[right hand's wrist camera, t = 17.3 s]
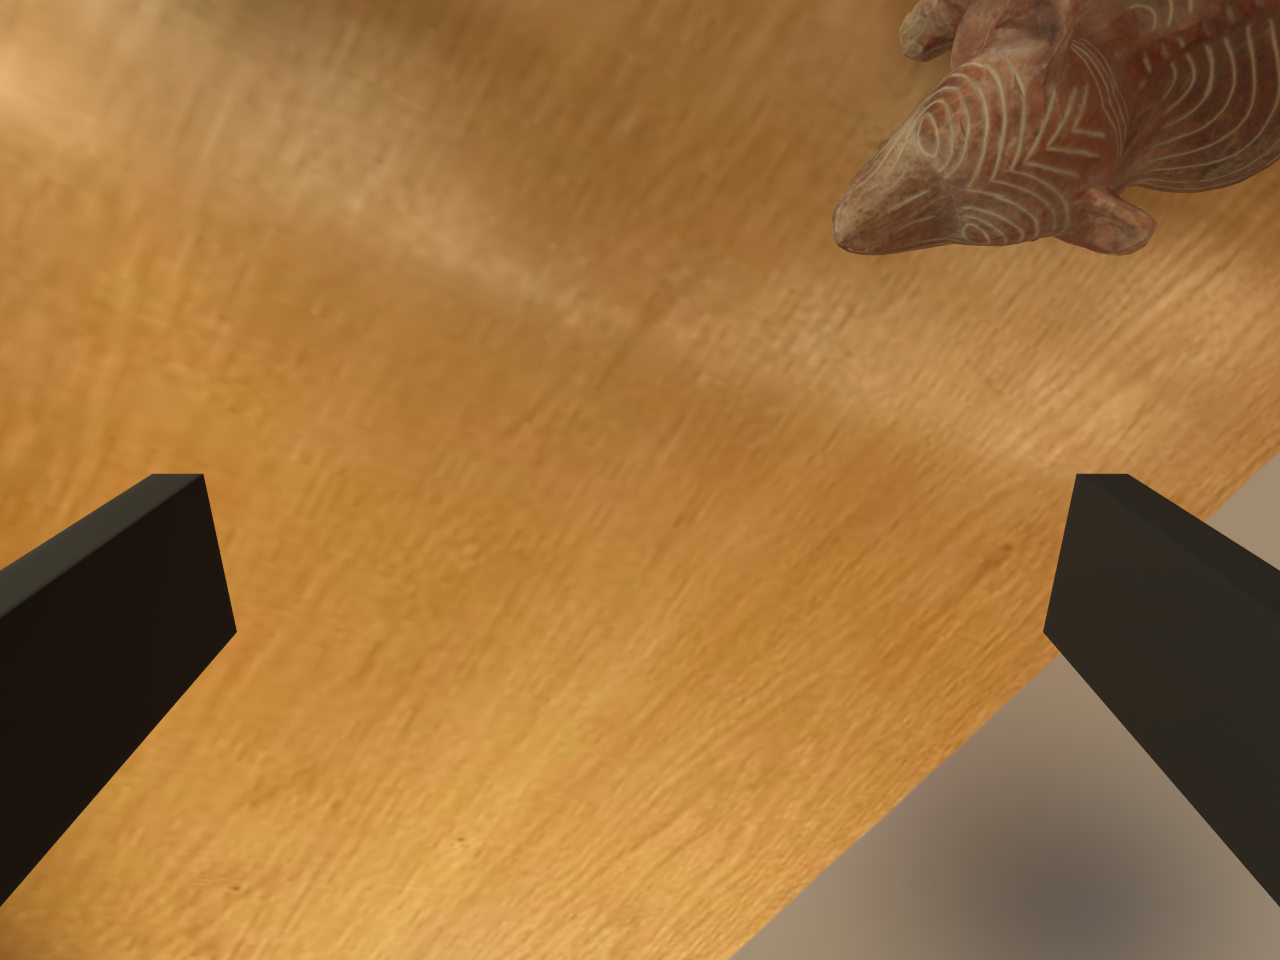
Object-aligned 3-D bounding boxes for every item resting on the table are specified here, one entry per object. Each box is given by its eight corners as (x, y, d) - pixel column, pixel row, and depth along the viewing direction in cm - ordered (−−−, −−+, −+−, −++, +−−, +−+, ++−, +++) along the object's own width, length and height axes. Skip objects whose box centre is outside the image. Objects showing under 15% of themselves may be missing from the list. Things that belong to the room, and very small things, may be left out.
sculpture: (721, 108, 37) (770, 75, 23) (1255, -263, 32) (1729, -590, 18) (859, 358, 41) (972, 457, 27) (1350, 64, 36) (1793, 2, 22)
